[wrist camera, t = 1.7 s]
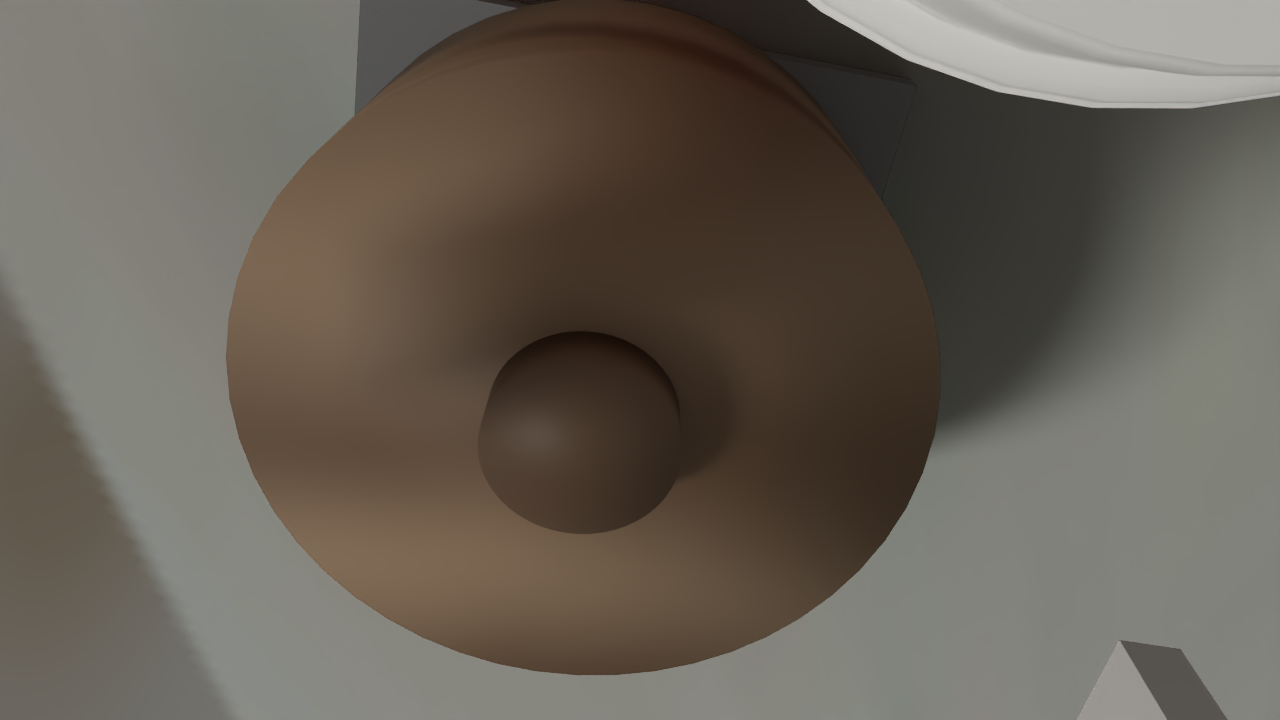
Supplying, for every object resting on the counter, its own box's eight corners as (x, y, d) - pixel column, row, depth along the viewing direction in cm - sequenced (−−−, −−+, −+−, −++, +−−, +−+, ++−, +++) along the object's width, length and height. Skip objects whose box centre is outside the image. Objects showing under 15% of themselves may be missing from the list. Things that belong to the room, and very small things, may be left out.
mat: (369, -26, 18) (361, -23, 17) (909, 78, 18) (916, 85, 18) (345, 438, 22) (338, 453, 22) (776, 506, 23) (780, 522, 23)
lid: (333, -59, 17) (188, -8, 12) (952, 63, 18) (1080, 161, 12) (314, 468, 22) (207, 669, 17) (795, 542, 23) (838, 757, 18)
